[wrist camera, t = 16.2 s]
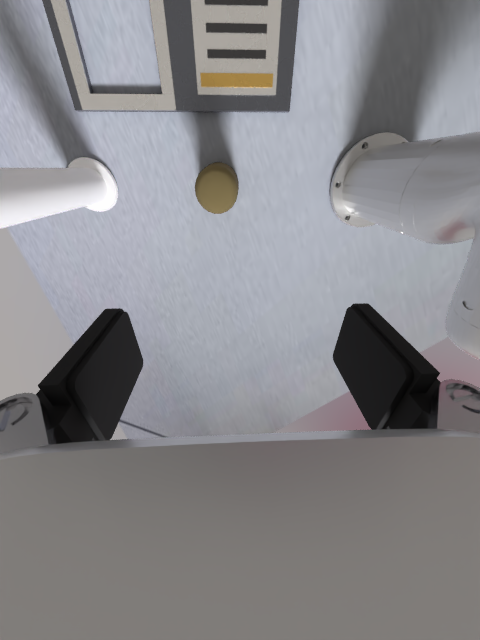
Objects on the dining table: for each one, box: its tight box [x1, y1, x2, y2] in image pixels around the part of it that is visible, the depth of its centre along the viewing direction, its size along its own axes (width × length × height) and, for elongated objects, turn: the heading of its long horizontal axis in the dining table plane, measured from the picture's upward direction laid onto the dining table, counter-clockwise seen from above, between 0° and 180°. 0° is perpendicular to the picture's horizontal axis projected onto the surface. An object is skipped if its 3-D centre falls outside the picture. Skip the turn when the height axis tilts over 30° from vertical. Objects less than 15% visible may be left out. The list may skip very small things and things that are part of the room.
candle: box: [0, 157, 118, 229], centre depth 24 cm, size 7×7×25 cm
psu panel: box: [42, 0, 299, 112], centre depth 27 cm, size 28×12×1 cm, turn 90°
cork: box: [195, 162, 238, 214], centre depth 31 cm, size 6×6×11 cm
